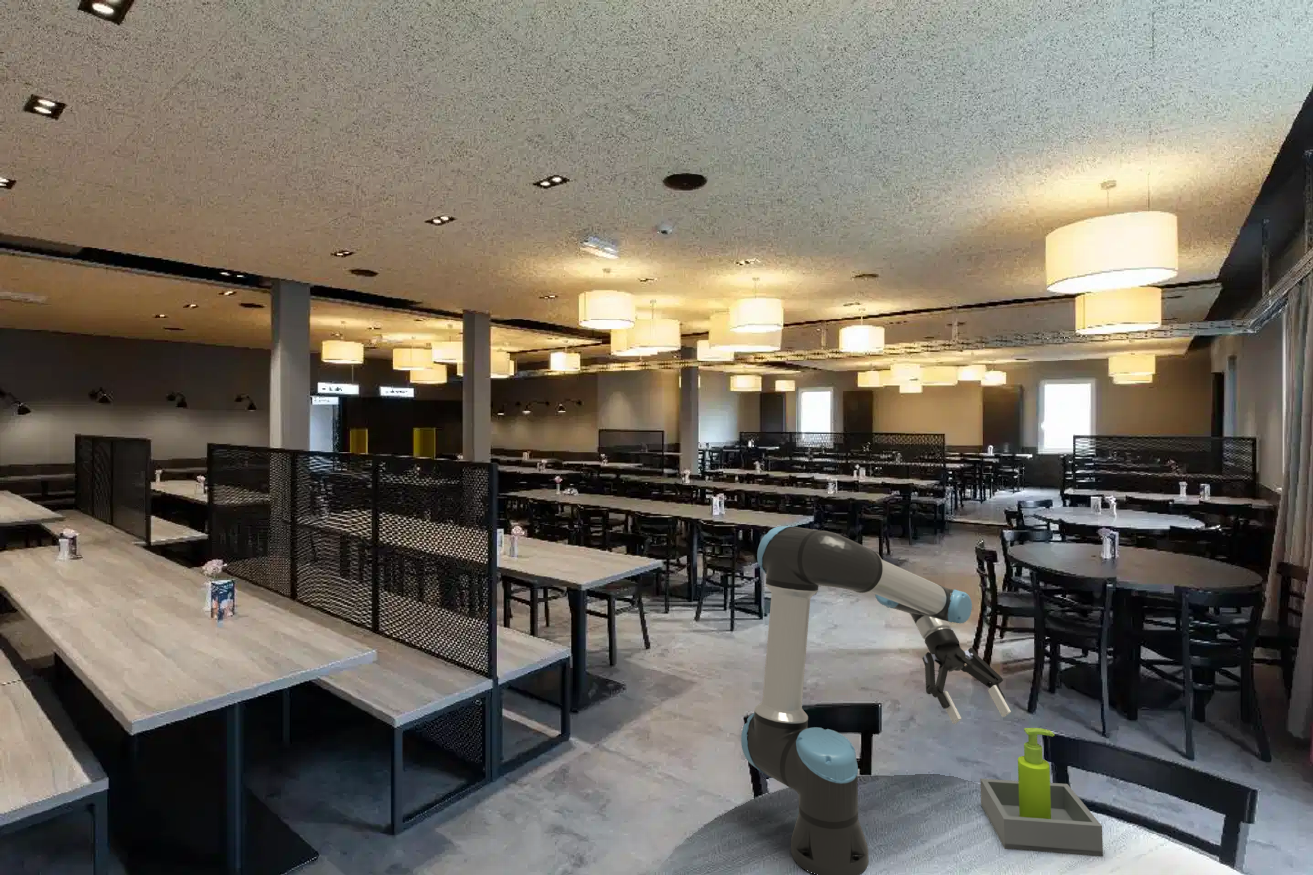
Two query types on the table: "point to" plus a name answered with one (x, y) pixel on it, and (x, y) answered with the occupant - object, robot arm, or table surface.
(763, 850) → the table surface
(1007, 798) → the crate
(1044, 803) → the soap dispenser
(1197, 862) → the table surface
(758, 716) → the robot arm
